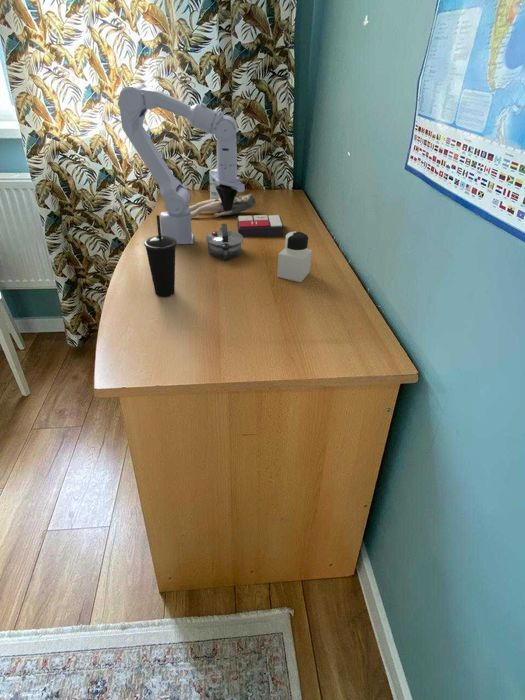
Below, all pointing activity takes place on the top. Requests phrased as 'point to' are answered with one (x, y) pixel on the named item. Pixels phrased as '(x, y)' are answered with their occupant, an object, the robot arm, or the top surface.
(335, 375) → the top surface
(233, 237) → the lid
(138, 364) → the top surface
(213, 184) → the ink box
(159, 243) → the drinking cup
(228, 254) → the pot
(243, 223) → the calculator
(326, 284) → the top surface
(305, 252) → the medicine bottle
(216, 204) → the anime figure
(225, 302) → the top surface
